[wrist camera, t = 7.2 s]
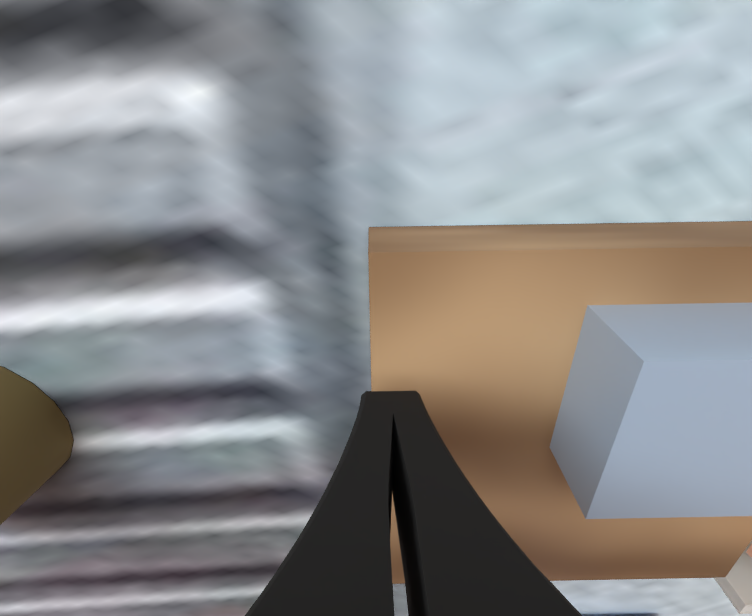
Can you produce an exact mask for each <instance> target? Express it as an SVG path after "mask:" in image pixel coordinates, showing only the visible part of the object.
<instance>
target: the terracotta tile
mask: <svg viewBox="0 0 752 616" xmlns="http://www.w3.org/2000/svg"><path fill="white" fill-rule="evenodd" d="M746 553H747V554H748V555H749V556H750V557H752V544H751V545H750V547H749V548H748V550H747V551H746Z"/></svg>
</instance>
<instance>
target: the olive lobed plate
mask: <svg viewBox="0 0 752 616" xmlns="http://www.w3.org/2000/svg"><path fill="white" fill-rule="evenodd" d="M73 441H74V440H73V437H72V433H71V430H70V426H69V423H68V421H67V419H66V418H65V416H64V415H63V414H62V412H61V411H60V409H59V408H58V407H57V405H56V404H55V402H54V401H53V400H51V399H50V398H49V397H48V396H47V395H46V394H44V393H43V392H42V391H41V390H40V389H38V388H37V387H36V386H35V385H34V384H33V383H31V382H29V381H28V380H26V379H24V378H22V377H20V376H18V375H17V374H15V373H13V372H11V371H9V370H8V369H6V368H4V367H1V366H0V525H1V524H2V523H3V522H4V521H5V520H6V519H7V518H8V517H9V516H10V515H11V514H12V513H13V512H14V511H16V510H17V509H18V508H19V507H20V506H21V505H22V504H23V503H24V502H25V501H26V500H27V499H28V498H29V497H30V496H31V495H32V494H33V493H34V492H36V491H37V490H38V489H39V488H40V487H41V486H42V485H43V484H44V483H45V482H46V481H47V480H48V479H49V478H50V477H51V476H52V475H53V474H55V473H56V472H57V471H58V470H59V469H60V468H61V466H62V465H63V464H64V463H65V462H66V461H67V460H68V459H69V458H70V455H71V450H72V446H73Z"/></svg>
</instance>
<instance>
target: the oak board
mask: <svg viewBox="0 0 752 616" xmlns="http://www.w3.org/2000/svg"><path fill="white" fill-rule="evenodd" d="M368 255H369V299H370V343H371V387H372V391H417V392H418V393H419V394H420V396H421V398H422V401H423V403H424V405H425V408H426V410H427V412H428V414H429V416H430V418H431V420H432V422H433V424H434V426H435V428H436V429H437V431H438V433H439V435H440V437H441V438H442V440H443V442H444V443H445V445H446V447H447V448H448V450H449V452H450V453H451V455H452V456H453V458H454V460H455V461H456V463H457V465H458V466H459V468H460V469H461V471H462V472H463V474H464V475H465V477H466V478H467V480H468V481H469V482H470V484H471V485H472V487H473V488H474V490H475V491H476V492H477V494H478V495H479V497H480V498H481V499H482V501H483V502H484V504H485V505H486V506H487V508H488V509H489V510H490V512H491V513H492V514H493V515H494V517H495V518H496V519H497V521H498V522H499V523H500V524H501V526H502V527H503V528H504V529H505V531H506V532H507V533H508V534H509V535H510V537H511V538H512V539H513V540H514V541H515V543H516V544H517V545H518V546H519V547H520V549H521V550H522V551H523V552H524V553H525V554H526V556H527V557H528V558H529V559H530V560H531V561H532V563H533V564H534V565H535V566H536V567H537V568H538V569H539V570H540V571H541V572H542V573H543V574H544V576H545V577H546V578H547V579H548V580H549V581H558V580H610V579H662V578H715V577H726V576H727V574H728V573H729V571H730V570H731V569H732V567H733V566H734V564H735V563H736V562H737V560H738V559H739V557H740V556H741V554H742V553H743V552H744V550H745V549H746V547H747V546H748V545H749V543H750V542H751V540H752V516H725V517H671V518H617V519H585V517H584V515H583V513H582V511H581V509H580V507H579V505H578V503H577V501H576V499H575V497H574V495H573V493H572V491H571V489H570V487H569V485H568V483H567V481H566V479H565V477H564V475H563V473H562V471H561V469H560V467H559V465H558V463H557V461H556V459H555V457H554V455H553V453H552V451H551V449H550V443H551V439H552V436H553V432H554V428H555V424H556V421H557V417H558V413H559V409H560V406H561V402H562V398H563V395H564V391H565V387H566V383H567V380H568V376H569V372H570V368H571V365H572V361H573V357H574V353H575V350H576V346H577V342H578V339H579V335H580V331H581V327H582V324H583V320H584V316H585V312H586V309H587V305H634V304H695V303H752V221H730V222H666V223H603V224H539V225H475V226H411V227H369V248H368ZM390 549H391V567H392V584H401V583H405V579H404V572H403V565H402V558H401V550H400V543H399V536H398V529H397V522H396V515H395V507H394V500H393V493H392V509H391V533H390Z"/></svg>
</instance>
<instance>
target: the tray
mask: <svg viewBox="0 0 752 616" xmlns="http://www.w3.org/2000/svg"><path fill="white" fill-rule="evenodd" d="M751 544H752V540H751V542H750V543H749V545H748V546H747V547H746V549H745V550H744V552H743V553H742V554H741V556H740V557H739V559H738V560H737V562H736V563H735V564H734V566H733V567H732V569H731V570H730V571H729V573H728V574H727V576H726V577H715V578H714V579H715V580H716V581H717V583H718V584H719V586H720V587H721V589H722V590H723V591H724V593H725V594H726V596H727V597H728V598H729V600H730V601H731V603H732V604H733V606H734V607H735V608H736V610H737V611H738V613H739V614H743V613H752V557H750V556H749V555H748V554H747V553H746V551H747V550H748V548H749V547H750V545H751Z"/></svg>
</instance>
